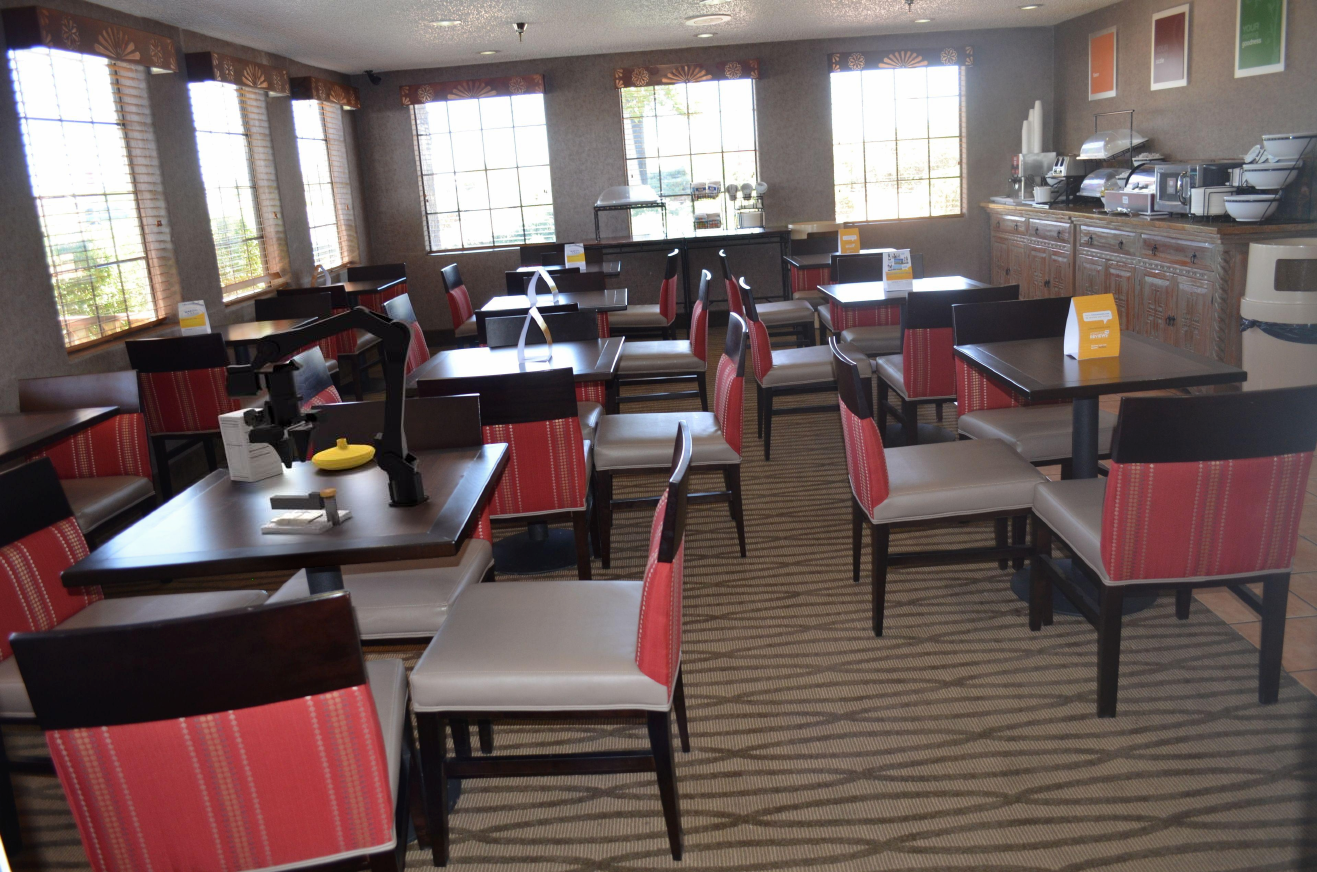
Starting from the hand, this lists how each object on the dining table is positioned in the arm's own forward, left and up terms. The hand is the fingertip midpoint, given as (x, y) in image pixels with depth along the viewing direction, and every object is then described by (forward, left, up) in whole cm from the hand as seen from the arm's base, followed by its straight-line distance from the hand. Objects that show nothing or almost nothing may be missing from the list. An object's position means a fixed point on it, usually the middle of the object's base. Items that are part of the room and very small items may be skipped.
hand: (296, 465), depth 202 cm
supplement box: (+36, -29, -11) cm, 48 cm away
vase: (+16, -38, -11) cm, 43 cm away
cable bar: (-5, +6, -7) cm, 11 cm away
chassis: (-5, +6, -11) cm, 13 cm away
